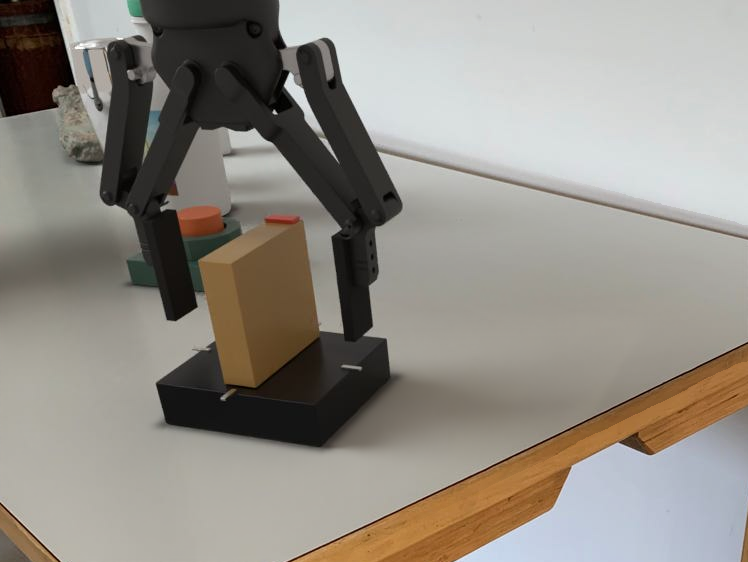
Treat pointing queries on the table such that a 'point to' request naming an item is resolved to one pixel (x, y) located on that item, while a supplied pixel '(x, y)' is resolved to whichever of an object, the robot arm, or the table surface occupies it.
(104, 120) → the beer glass
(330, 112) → the robot arm
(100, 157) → the long grey stone
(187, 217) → the button
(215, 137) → the milk bottle
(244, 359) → the tan wooden block
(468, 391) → the table surface
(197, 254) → the button block
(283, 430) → the black base
